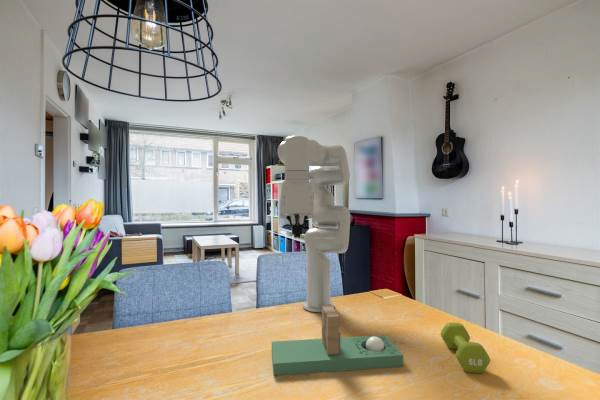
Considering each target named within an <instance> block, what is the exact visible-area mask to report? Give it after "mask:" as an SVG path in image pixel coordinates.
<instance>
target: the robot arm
mask: <svg viewBox="0 0 600 400" xmlns="http://www.w3.org/2000/svg"><path fill="white" fill-rule="evenodd" d="M277 157H278V159H279V160H280V162H281V163H282V164H284V181H282V182H281V187H280V198H279V199H280V201H279V211H280V212H279V217H280V218H281V219H284V220H288V222H289V223H290V224H291V236H293V237H294V238H295V239H296V238H298V239H299V238H301V236H302V235H303V224H304V223H305V222H306V221H307V220H310V219H311V224H312V225H313V226H314V227H313V228H310V229H308V230H306V232H305V233H304V237H303V241H304V248H305V254H306V256H305V257H306V300H305V301H304V302H303V303H302V308H303V309H304V310H305V311H308V312H310V313H311V312H313V313H322V306H333V308H334V309H335V303H334V302H333V301H332V300H331V268H332V267H331V261H330V259H329V257H328V256H327V255H326V253H327V254H329V253H330V254H344V253H346V252H347V250H348V248H349V244H350V243H349V242H350V228H351V213H350V210H349V208H348V207H347V206H345V205H334V204H335V196H334V195H333V193H332V192H331V190H330V189H328V188H327V186H345V185H347V184H348V183H349V181H350V176H351V175H350V167H349V161H348V156H347V151H346V150H345V148H344V147H343V146H342V145H340V144H338V145H337V144H335V145H322V144H320V143H319V142H318V141H317V140H314V139H308V137H306V136H303V135H292V136H291V135H290V136H287V137H286V138H285V140H284V141H281V143H279V145H278V148H277ZM310 167H312V168H311V169H310ZM296 215H299V216H298V221H297V222H296V217H295V216H296Z"/></svg>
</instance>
